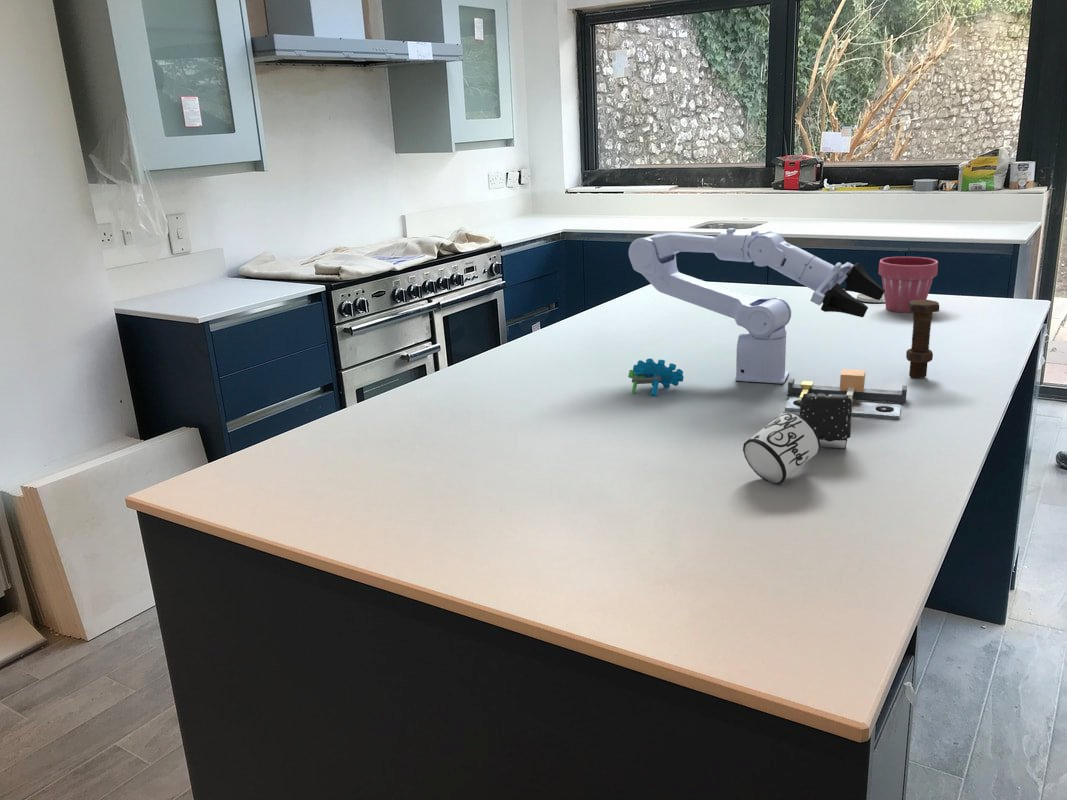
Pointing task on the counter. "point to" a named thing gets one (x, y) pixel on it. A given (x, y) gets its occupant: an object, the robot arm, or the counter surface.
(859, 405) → the hole plate
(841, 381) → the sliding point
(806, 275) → the robot arm
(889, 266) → the plant pot
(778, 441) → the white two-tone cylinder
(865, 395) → the rail
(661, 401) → the counter surface
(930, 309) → the bolt
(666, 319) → the counter surface
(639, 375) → the blue stegosaurus toy
